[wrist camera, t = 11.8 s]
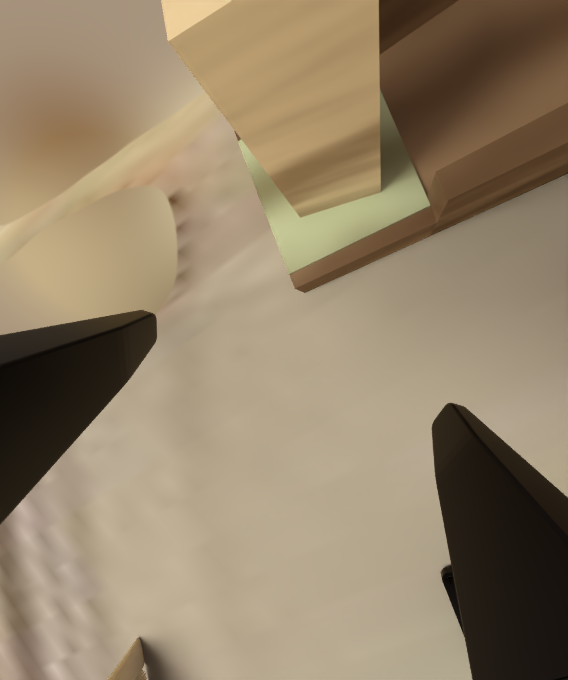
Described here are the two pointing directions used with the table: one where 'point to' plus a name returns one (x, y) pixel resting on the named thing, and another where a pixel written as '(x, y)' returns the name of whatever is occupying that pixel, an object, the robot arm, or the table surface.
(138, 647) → the comb
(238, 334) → the table surface
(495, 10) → the walnut channel
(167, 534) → the table surface
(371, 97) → the birch block
